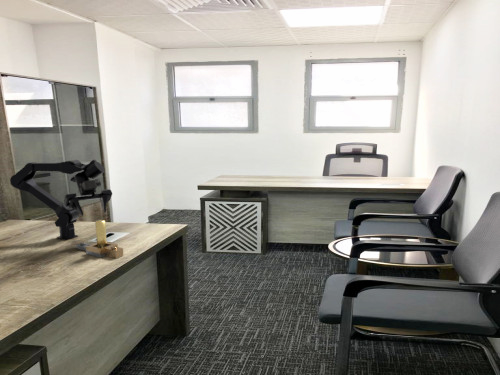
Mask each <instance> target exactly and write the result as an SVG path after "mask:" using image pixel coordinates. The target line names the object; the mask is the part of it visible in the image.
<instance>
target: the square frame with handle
mask: <svg viewBox="0 0 500 375" xmlns="http://www.w3.org/2000/svg"><path fill="white" fill-rule="evenodd" d="M75 249H78V250H82V251H85V252H86V255H89V256H93V257H96V258H103V257H108V258H112V259H113V258H114V259H118V258H120V257H121V258H122V257H123V256H124V248H123V247H119V246H118V244H117V243H113V242H109V241H107V246H106V247H103V248H97V242H96V243H93V244H92V243H88V242H83V241H82V242H79V243H77V244H75Z"/></svg>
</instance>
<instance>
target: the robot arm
mask: <svg viewBox="0 0 500 375" xmlns="http://www.w3.org/2000/svg"><path fill="white" fill-rule="evenodd" d="M105 171H106V168H105V167H104V166H103V164H101V163H100V162H99V161H97V160H96V159H92V160H91V161H90V162H89V163H87V164H85V163H82V162H81V161H80V160H78V159H71V160H67V161H66V160H65V161H61V162H36V161H33V162H28V163H26V164H25V165H24V166H23V167H22V168H21V169H20V170H18V171H17V172H16V173H15V174H13V175H12V176H11V177H10V179H9V181H10V182H9V183H10V186H11V187H13V188H14V189H17V190H19V191H23V192H26V193H29V195H31V196H33V197H34V198H35V199H37V200H38V201H40V202H42V204H44V205H45V206H47V207H48V208H50V209H51V210H52V211H54V213H55V215H56V218H57V219H56V220H55V222H54V225H55V227H56V228H59V236H56V239H59V240H62V241H68V240H71V239H74V238H77V237H79V235H77V234H76V233H75V232H76V230H75V223H76V222H77V219H78V218H79V217H80V215H81V216H82V217H83V216H84V211H83V209H82V207H81V203H80V201H90V200H98V199H99V200H100V205H101V207H102V211H103V213H107V212H106V211H107V204H108V202H110V201H111V198H112V196H113V192H112V190H111V189H101V190H100V193H96V192H97V188H99V187H101V186H102V181H101V180H100V178H98V177H100V175H103V173H105ZM37 172H59V173H62V174H66V175H67V174H68V175H72V177H71V178H70V182H72V183H75V184H76V187H77V189H78V190H77V192H78V193H79V195H77V193H76V192H71V193H66V194H65V196H64V200H63V202H61V201H60V200H59V199H57V198H56V197H55V196H54V195H52V194H50V193H49V192H47V191H46V190H45V189H44V188H43V187H41V186H39V185H38V184H37V182H36V181H35V179H34V178H35V176H36V174H37ZM73 174H75V175H73ZM91 179H92V180H91Z"/></svg>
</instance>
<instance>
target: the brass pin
mask: <svg viewBox="0 0 500 375" xmlns="http://www.w3.org/2000/svg"><path fill="white" fill-rule="evenodd" d="M106 226H107V225H106V220H105V219H98V220H95V236H96V237H95V238H96V243H97V248H103V247H106V246H107V242H108V241H107V230H106Z"/></svg>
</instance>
